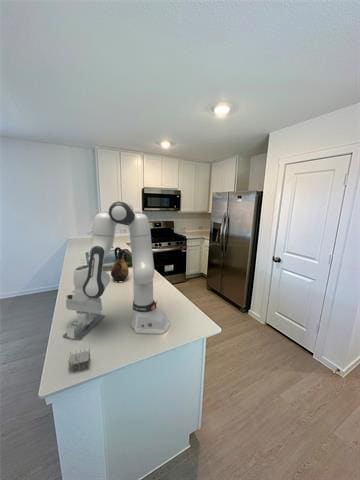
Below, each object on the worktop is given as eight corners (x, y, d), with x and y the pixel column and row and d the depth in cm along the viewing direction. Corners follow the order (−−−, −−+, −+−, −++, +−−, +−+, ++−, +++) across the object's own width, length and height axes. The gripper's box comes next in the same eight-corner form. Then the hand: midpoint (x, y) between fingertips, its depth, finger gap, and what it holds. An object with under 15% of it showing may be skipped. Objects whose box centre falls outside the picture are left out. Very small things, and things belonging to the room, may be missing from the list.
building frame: (89, 369, 83) (89, 357, 82) (68, 375, 80) (67, 362, 79) (90, 358, 89) (90, 347, 88) (70, 363, 86) (69, 351, 85)
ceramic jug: (132, 279, 181) (132, 247, 176) (119, 285, 168) (118, 250, 163) (119, 275, 190) (118, 245, 184) (106, 280, 176) (104, 247, 171)
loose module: (91, 318, 113) (91, 308, 112) (84, 325, 107) (84, 314, 106) (85, 317, 114) (84, 307, 113) (78, 324, 108) (77, 313, 107)
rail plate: (105, 316, 122) (104, 306, 120) (79, 341, 99) (78, 329, 98) (90, 314, 123) (89, 304, 122) (62, 338, 101) (61, 326, 100)
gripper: (104, 294, 109) (105, 317, 112) (71, 290, 113) (73, 312, 115) (97, 299, 103) (98, 323, 105) (63, 295, 107) (64, 318, 109)
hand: (84, 317), depth 110 cm, fingers closed on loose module, 4 cm apart
